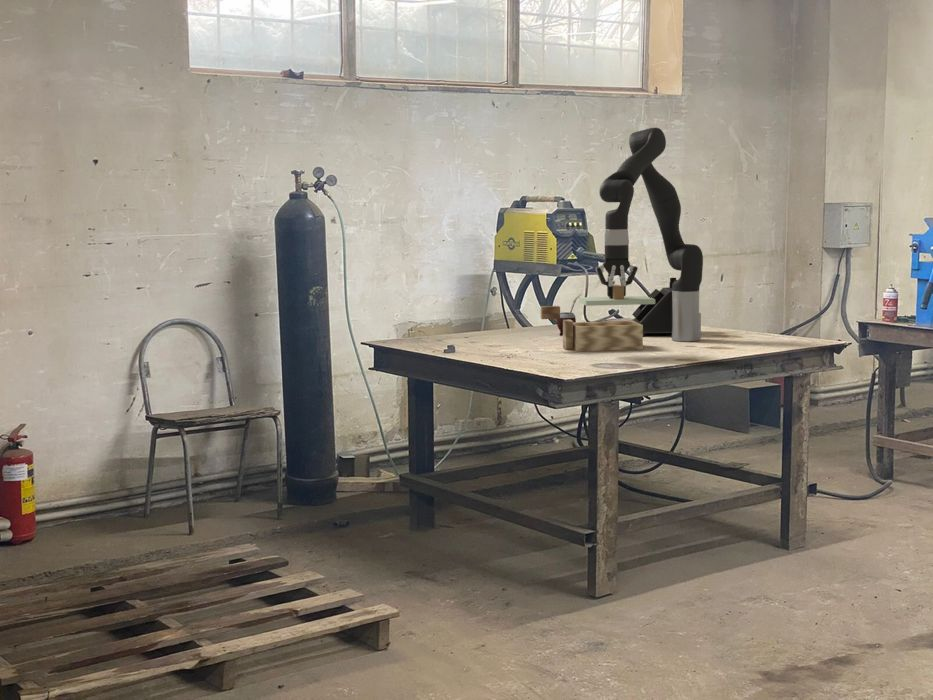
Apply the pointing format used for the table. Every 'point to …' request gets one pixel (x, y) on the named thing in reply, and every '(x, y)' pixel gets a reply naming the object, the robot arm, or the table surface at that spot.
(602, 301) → the lid
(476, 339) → the table surface
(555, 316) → the wooden block
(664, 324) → the voltmeter
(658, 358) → the table surface
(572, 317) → the mate gourd
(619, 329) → the toolbox
